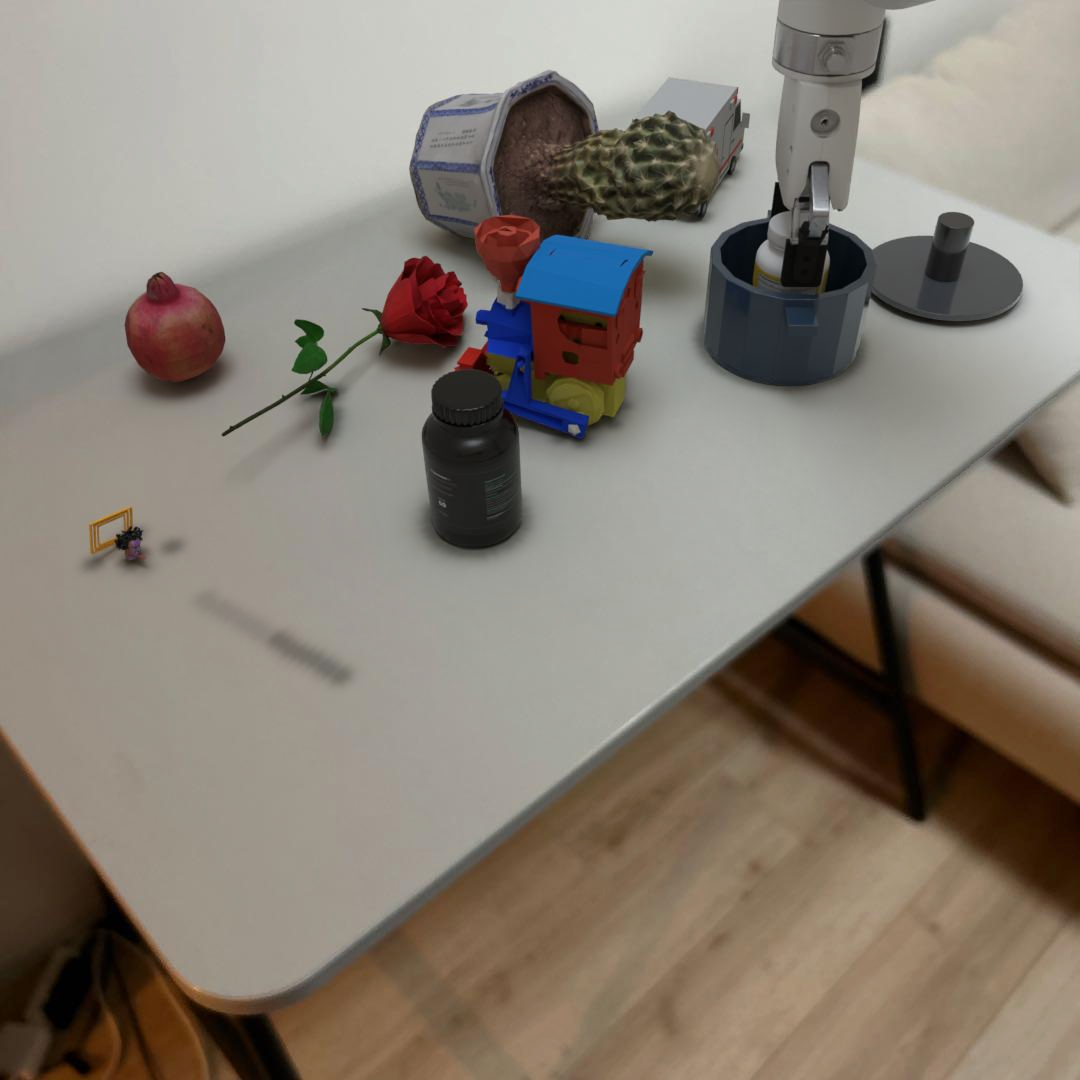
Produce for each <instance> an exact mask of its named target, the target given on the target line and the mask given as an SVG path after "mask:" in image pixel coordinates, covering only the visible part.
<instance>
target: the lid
mask: <svg viewBox="0 0 1080 1080" xmlns="http://www.w3.org/2000/svg"><path fill="white" fill-rule="evenodd" d="M974 226H975V219H974V218H973V217H972V216H970V215H969V214H967V213H963V212H958V211H947V212H942V213H941V214H939V215H938V217H937V220H936V224H935V229H934V232H933V235H910V236H904V237H899V238H893V239H891V240H888V241H884V242H883V243H881V244H879V245H877V246H876V247H874V248H872V251H873V254H874V258H875V261H876V264H877V268H876V273H875V277H874V282H873V286H872V291H871V294H873V295H874V296H876V297H877V298H878V299H880V300H881V301H882V302H884V303H885V304H887V305H889V306H891V307H893V308H895V309H897V310H900V311H902V312H905V313H908V314H911V315H914V316H917V317H922V318H926V319H932V320H939V321H944V322H945V321H946V322H947V321H948V322H969V321H970V322H971V321H979V320H984V319H989V318H993V317H996V316H998V315H1001V314H1003V313H1005V312H1007V311H1009V310H1010V309H1012V308H1013V307H1014V306H1015V305H1016V304H1017V303H1018V301H1019V300H1020V298H1021V296H1022V293H1023V289H1024V281H1023V277H1022V274H1021V272H1020V271H1019V270H1018V268H1017V267H1016V266H1015V265H1014V264H1013V262H1011V261H1010V260H1009V259H1007V258H1006V257H1005V256H1003V255H1002V254H1001V253H998V252H997V251H995V250H993V249H991V248H988V247H987V246H984V245H981V244H978V243H975V242H973V241H970V240H971V236H972V234H973V230H974Z"/></svg>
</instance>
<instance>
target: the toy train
mask: <svg viewBox="0 0 1080 1080" xmlns="http://www.w3.org/2000/svg"><path fill="white" fill-rule="evenodd" d="M474 233H475V239H474V243H475V249H476V252H477V254H478V255H480V258H481V260H482V262H483V264H484V266H485V268H486V271H487V272H489V273H490V274H491V275H492V276H493V277H494V278H496V279H497V280H498V281H499V286H497V289H496V290H497V292H496V297H495V298H494V301H492V304H491V307H490V310H489V309H479V310H477V311H476V314H475V324H476V325H482V326H486V329H487V330H485V333H484V335H483V337H485V338H487V341H486V342H485V343H484V344H483V346H482V347H481V348H476V347H472V346H467V348H466V349H465V350H464V352H463V353H462V355H461V356H460V357H459V358H458V360H457V361H456V365H458V366H455V367H453V369H454V371H455V370H461V369H477V370H482V371H484V372H488V373H489V374H493V376H494V377H496V378H497V380H499V381H500V384H501V387H502V397H503V400H504V407H505V408H506V409H507V410H508V411H509V412H510V413H511V414H512V415H516V416H519V417H522V418H523V419H527V420H530V421H531V422H535V423H538V424H540V425H543V426H546V427H549V428H551V429H554V430H557V431H560V432H563V433H565V434H568V435H570V436H572V437H575V438H578V439H580V440H583V438H584V436H585V434H586V433H587V430H588V426H590V425H592V424H595V423H597V422H599V421H600V419H601V417H602V416H606V417H611V418H615V416H616V415H617V413H618V412H619V410H620V408H621V406H622V404H623V402H624V400H625V399H626V386H627V385H626V383H627V372H628V371H629V369H630V368H631V366H632V363H633V362H634V360H635V349H636V345H637V344H638V343H641V342H642V338H643V334H644V331H643V327H641V315H642V314H641V313H642V302H643V301H642V300H643V287H644V285H643V283H644V275H645V273H646V272H647V270H644V259H645V257H646V256H647V257H652V256H653V255H654V250H651V249H644V248H640V247H633V246H627V245H623V244H615V243H610V242H604V241H597V240H593V239H592V240H591V239H587V238H586V239H580V238H575V237H569V236H563V235H553V236H551V237H549V238H547V239H545V240H543V242H542V243H541V245H540V226H539V225H538V224H537V223H536V222H535V221H533V220H532V219H530V218H525V217H520V216H516V215H504V216H494V217H491V218H489V219H486V220H484V221H482V222H481V223H480V224H479V225H478V226H477V227H476V228H475V229H474ZM491 367H493V370H492V369H491Z"/></svg>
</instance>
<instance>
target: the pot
mask: <svg viewBox="0 0 1080 1080" xmlns="http://www.w3.org/2000/svg"><path fill="white" fill-rule="evenodd" d="M771 210H772V209H768V210H767V215H766V217H764V218H763V217H762V218H759V219H753V220H748V221H744V222H740V223H738V224H736V225H735V226H732V227H730V228H729V229H727V230H724V231H723V232H721V233H720V234H719V236H718V238H717V239H716V240H715V241H714V242H713V243H712V245H711V247H710V251H709V252H710V253H709V263H708V274H707V283H706V284H707V285H706V295H705V306H704V314H703V315H704V316H703V325H702V328H703V339H702V340H703V344H704V347H705V349H706V351H707V353H708V354H709V356H710V357H711V358H712V359H713V361H714V362H715V363H717V364H718V365H719V366H720V367H722V368H723V369H725V370H726V371H728V372H730V373H731V374H734V375H736V376H738V377H741V378H743V379H745V380H749V381H752V382H756V383H760V384H765V385H773V386H782V387H794V386H795V387H797V386H807V385H812V384H818V383H821V382H824V381H827V380H830V379H833V378H834V377H838V375H841V374H842V373H843V372H845V371H846V370H847V369H848V368H849V367H850V366H851V365H852V364H853V362H854V361H855V359H856V356H857V353H858V350H859V348H860V346H861V342H862V337H863V332H864V329H865V322H866V318H867V315H868V314H867V313H868V309H869V303H870V300H871V295H872V286H873V282H874V277H875V273H876V268H877V264H876V261H875V258H874V254H873V251H872V250H873V248H872V247H870V246H869V245H868V244H867V243H866V242H865V241H863V240H862V239H861V238H860V237H859V236H858V235H856V234H855V233H853V232H851V231H848V230H846V229H844V228H841V227H839V226H837V225H835V224H834V223H833V224H832V223H830V222H829V235H828V247H827V251H828V253H829V256H830V265H829V271H828V276H827V281H826V287H825V293H821V294H816V295H801V294H782V293H778V292H774V291H769V290H765V289H760V288H756V287H754V286H752V283H753V275H754V267H755V259H756V254H757V251H758V249H759V247H760V246H761V244H762V243H763V242H765V241H766V240H768V238H767V237H768V236H767V233H768V227H769V222H770V217H771Z"/></svg>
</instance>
